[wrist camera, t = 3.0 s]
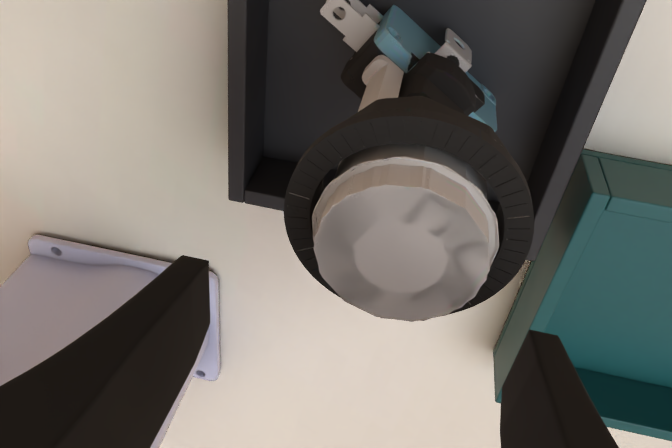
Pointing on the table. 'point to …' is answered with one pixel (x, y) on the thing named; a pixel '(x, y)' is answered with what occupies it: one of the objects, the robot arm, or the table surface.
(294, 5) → the left tote
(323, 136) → the push button
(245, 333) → the table surface
